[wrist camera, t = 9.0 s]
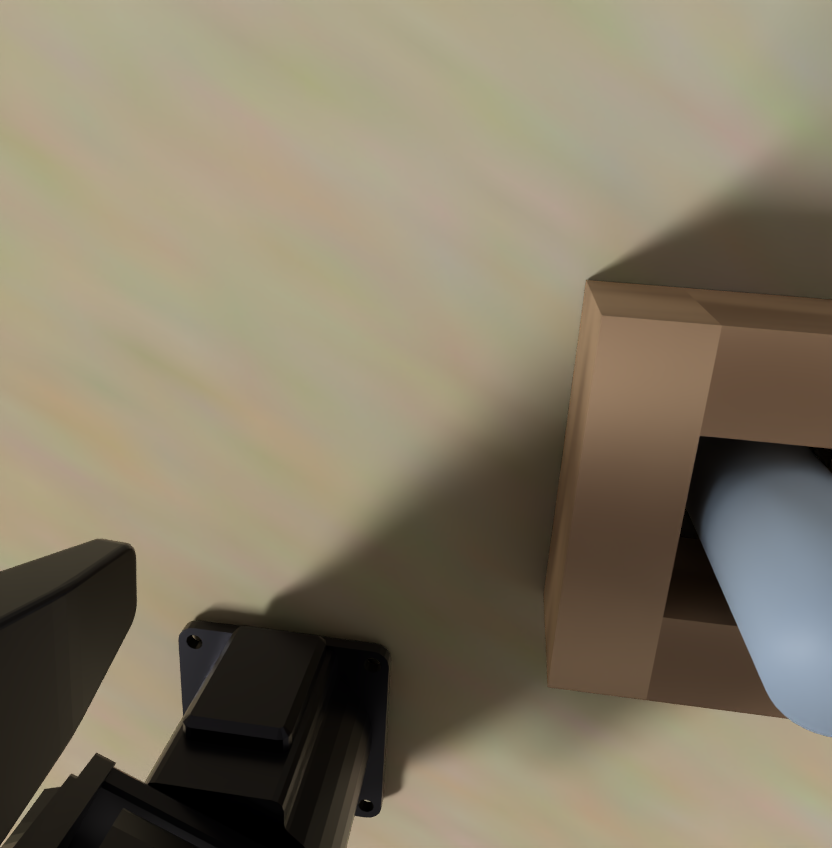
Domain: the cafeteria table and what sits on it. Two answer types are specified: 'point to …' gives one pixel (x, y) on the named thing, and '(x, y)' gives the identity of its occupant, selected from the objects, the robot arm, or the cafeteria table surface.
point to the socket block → (668, 482)
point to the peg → (772, 563)
